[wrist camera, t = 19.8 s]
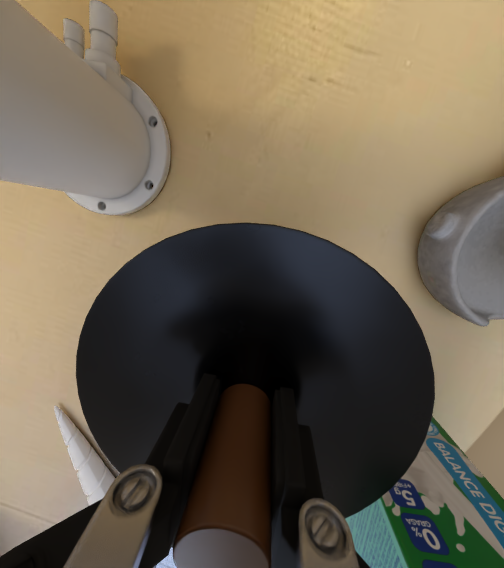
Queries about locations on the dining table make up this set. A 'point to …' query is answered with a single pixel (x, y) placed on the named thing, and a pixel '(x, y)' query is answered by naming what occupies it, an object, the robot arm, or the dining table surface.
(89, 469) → the unicorn horn
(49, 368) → the dining table surface
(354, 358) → the pot lid
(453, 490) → the milk carton
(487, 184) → the dish
